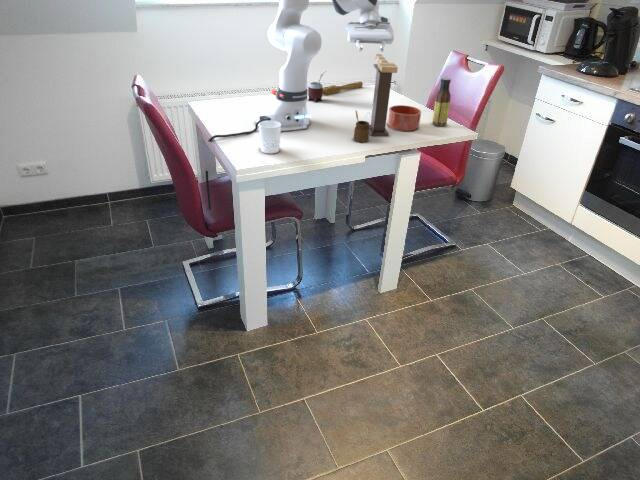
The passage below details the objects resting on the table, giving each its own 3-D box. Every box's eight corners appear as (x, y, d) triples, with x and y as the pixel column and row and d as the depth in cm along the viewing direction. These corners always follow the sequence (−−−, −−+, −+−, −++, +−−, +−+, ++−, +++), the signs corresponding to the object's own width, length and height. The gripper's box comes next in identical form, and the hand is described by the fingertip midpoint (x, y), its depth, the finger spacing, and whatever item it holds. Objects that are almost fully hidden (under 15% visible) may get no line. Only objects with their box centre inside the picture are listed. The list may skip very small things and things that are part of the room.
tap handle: (363, 81, 257) (321, 90, 239) (362, 87, 258) (320, 96, 241) (359, 80, 258) (317, 88, 241) (358, 86, 260) (316, 94, 243)
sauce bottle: (447, 123, 215) (456, 78, 204) (444, 127, 210) (453, 81, 200) (433, 121, 217) (441, 75, 207) (429, 125, 212) (437, 78, 202)
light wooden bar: (370, 58, 200) (371, 53, 198) (384, 59, 200) (385, 54, 199) (381, 72, 181) (382, 66, 180) (397, 72, 182) (397, 67, 181)
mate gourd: (307, 98, 237) (308, 66, 229) (323, 98, 238) (324, 66, 230) (308, 102, 231) (309, 70, 223) (324, 103, 232) (326, 70, 224)
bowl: (402, 133, 202) (404, 117, 198) (381, 123, 211) (382, 107, 207) (425, 128, 209) (427, 112, 205) (403, 119, 218) (405, 103, 214)
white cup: (255, 151, 178) (255, 125, 172) (265, 144, 184) (264, 119, 178) (275, 155, 175) (275, 129, 170) (284, 148, 182) (284, 122, 176)
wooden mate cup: (370, 142, 192) (374, 112, 185) (355, 143, 190) (358, 113, 184) (365, 136, 196) (368, 107, 190) (350, 137, 195) (353, 108, 188)
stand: (366, 127, 206) (373, 63, 192) (382, 127, 207) (390, 64, 193) (371, 135, 198) (378, 70, 184) (387, 136, 198) (396, 70, 184)
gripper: (347, 17, 211) (348, 45, 208) (393, 19, 213) (395, 47, 210) (345, 26, 217) (346, 54, 214) (390, 28, 219) (392, 55, 216)
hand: (371, 50), depth 212 cm, fingers open, 8 cm apart
